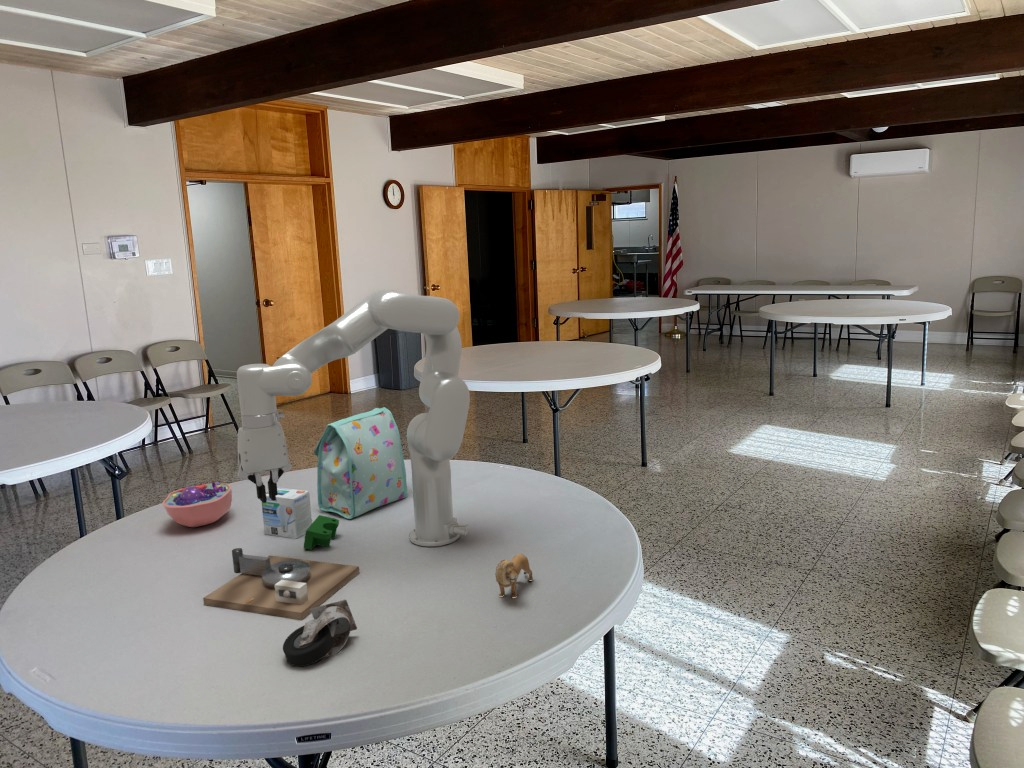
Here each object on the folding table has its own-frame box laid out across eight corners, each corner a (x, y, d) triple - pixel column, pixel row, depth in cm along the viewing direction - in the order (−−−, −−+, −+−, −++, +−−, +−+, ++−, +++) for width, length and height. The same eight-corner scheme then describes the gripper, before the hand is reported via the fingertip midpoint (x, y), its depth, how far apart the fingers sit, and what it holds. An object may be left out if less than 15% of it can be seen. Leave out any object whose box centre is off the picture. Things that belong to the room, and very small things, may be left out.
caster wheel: (287, 681, 130) (298, 642, 140) (351, 664, 130) (358, 627, 140) (273, 650, 128) (285, 613, 138) (339, 633, 128) (346, 597, 138)
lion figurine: (516, 608, 148) (515, 566, 146) (491, 605, 150) (489, 563, 148) (536, 576, 162) (535, 537, 160) (513, 574, 163) (511, 535, 162)
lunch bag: (373, 488, 225) (367, 402, 220) (413, 497, 215) (407, 407, 210) (313, 512, 207) (304, 418, 202) (353, 523, 197) (345, 425, 192)
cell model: (249, 510, 210) (245, 472, 208) (209, 538, 191) (204, 496, 189) (195, 508, 213) (190, 471, 211) (150, 535, 194) (144, 494, 192)
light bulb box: (263, 534, 192) (259, 494, 190) (280, 525, 198) (276, 486, 196) (297, 539, 188) (293, 498, 186) (313, 529, 194) (310, 490, 192)
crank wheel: (319, 571, 164) (317, 549, 163) (292, 591, 155) (290, 568, 154) (250, 562, 170) (247, 540, 169) (220, 581, 161) (217, 558, 160)
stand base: (359, 572, 167) (357, 551, 166) (301, 620, 146) (299, 596, 145) (270, 561, 175) (268, 541, 174) (203, 605, 154) (200, 582, 153)
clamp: (325, 563, 182) (326, 540, 178) (303, 559, 182) (303, 535, 178) (339, 531, 191) (341, 508, 187) (318, 526, 191) (319, 503, 187)
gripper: (290, 412, 170) (297, 488, 173) (218, 422, 162) (228, 503, 165) (300, 417, 164) (307, 497, 167) (226, 429, 156) (235, 512, 159)
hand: (267, 499), depth 166 cm, fingers closed
